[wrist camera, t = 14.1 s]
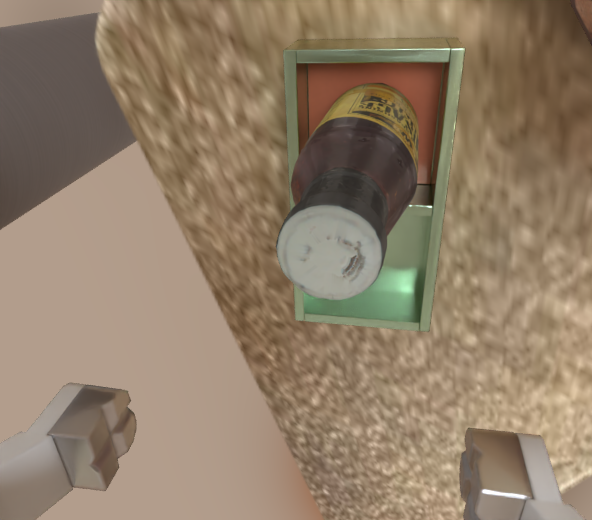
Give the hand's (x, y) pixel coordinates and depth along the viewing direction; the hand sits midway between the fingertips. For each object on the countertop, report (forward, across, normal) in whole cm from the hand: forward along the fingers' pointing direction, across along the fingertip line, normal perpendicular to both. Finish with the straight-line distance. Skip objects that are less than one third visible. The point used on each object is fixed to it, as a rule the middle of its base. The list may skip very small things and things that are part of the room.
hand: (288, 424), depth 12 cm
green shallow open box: (+28, -1, +5) cm, 29 cm away
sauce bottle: (+28, -1, 0) cm, 28 cm away
